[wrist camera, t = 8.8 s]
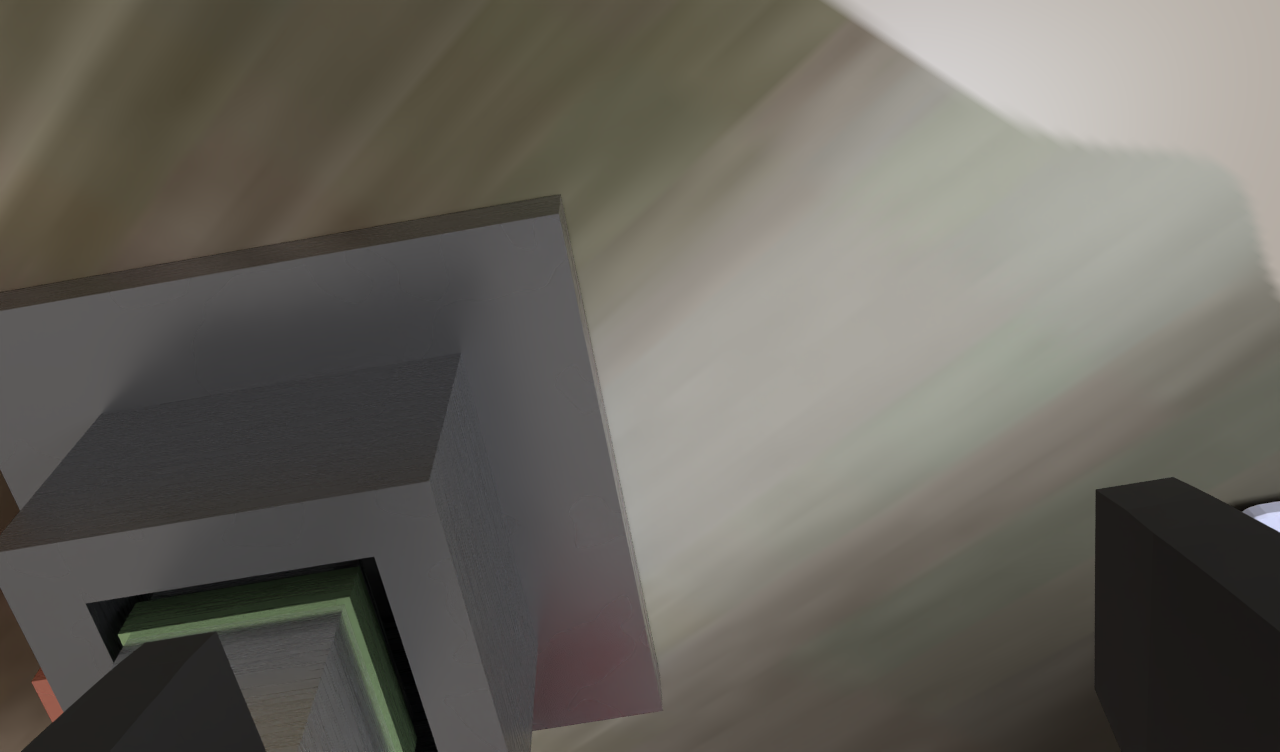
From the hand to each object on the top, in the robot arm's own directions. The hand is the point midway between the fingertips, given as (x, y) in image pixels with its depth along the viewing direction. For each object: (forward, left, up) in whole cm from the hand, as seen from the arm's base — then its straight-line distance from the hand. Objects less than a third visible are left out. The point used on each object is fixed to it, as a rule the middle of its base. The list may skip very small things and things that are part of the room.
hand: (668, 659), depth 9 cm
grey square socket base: (+6, +4, -10) cm, 13 cm away
